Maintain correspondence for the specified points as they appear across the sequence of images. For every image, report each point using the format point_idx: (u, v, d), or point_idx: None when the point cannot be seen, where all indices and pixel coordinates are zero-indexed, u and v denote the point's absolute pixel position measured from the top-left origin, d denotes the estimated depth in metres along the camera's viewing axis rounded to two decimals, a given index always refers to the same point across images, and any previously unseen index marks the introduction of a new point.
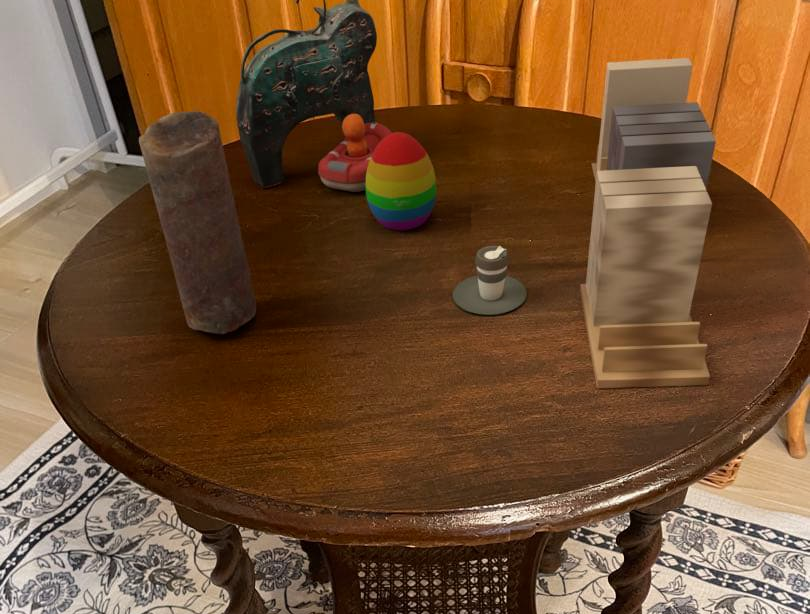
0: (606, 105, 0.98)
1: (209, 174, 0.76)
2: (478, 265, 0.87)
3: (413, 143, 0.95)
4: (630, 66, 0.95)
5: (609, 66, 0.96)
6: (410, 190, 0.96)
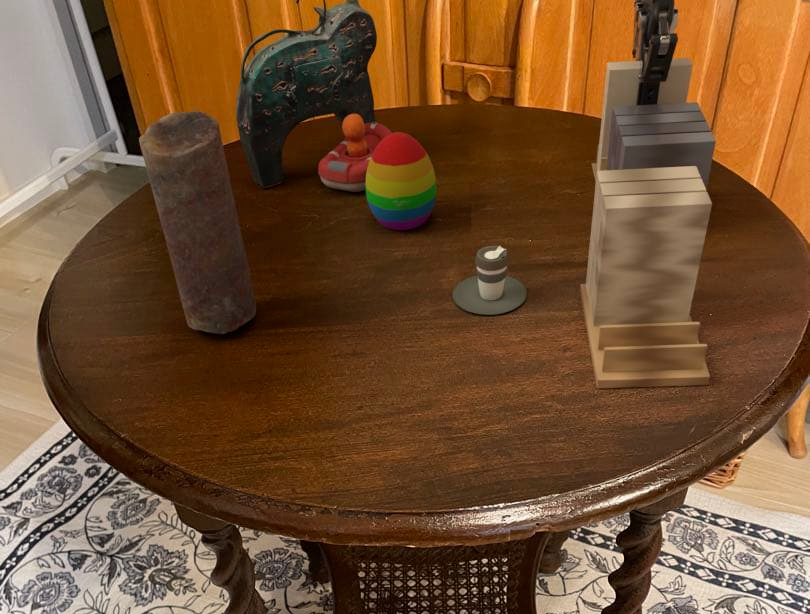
0: (606, 105, 0.98)
1: (209, 174, 0.76)
2: (478, 265, 0.87)
3: (413, 143, 0.95)
4: (630, 66, 0.95)
5: (609, 66, 0.96)
6: (410, 190, 0.96)
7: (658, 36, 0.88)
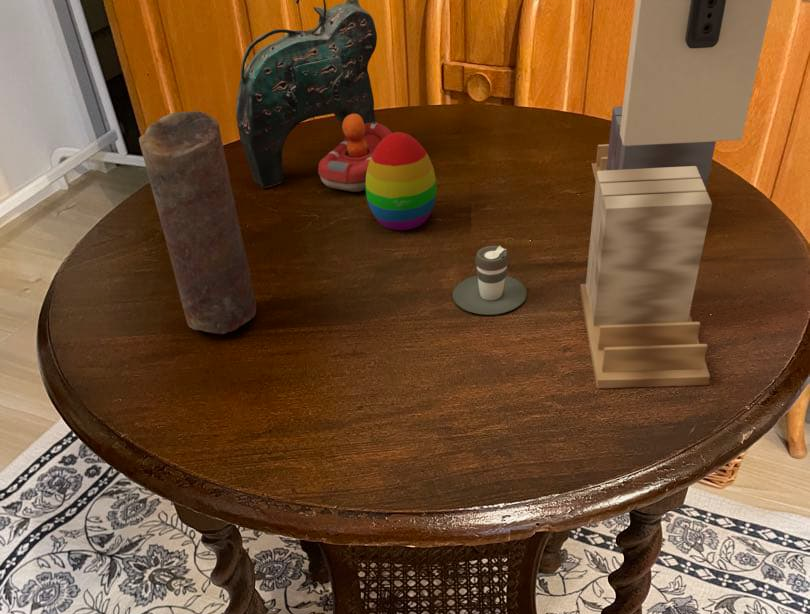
0: (638, 29, 0.61)
1: (209, 174, 0.76)
2: (478, 265, 0.87)
3: (413, 143, 0.95)
4: None
5: None
6: (410, 190, 0.96)
7: None
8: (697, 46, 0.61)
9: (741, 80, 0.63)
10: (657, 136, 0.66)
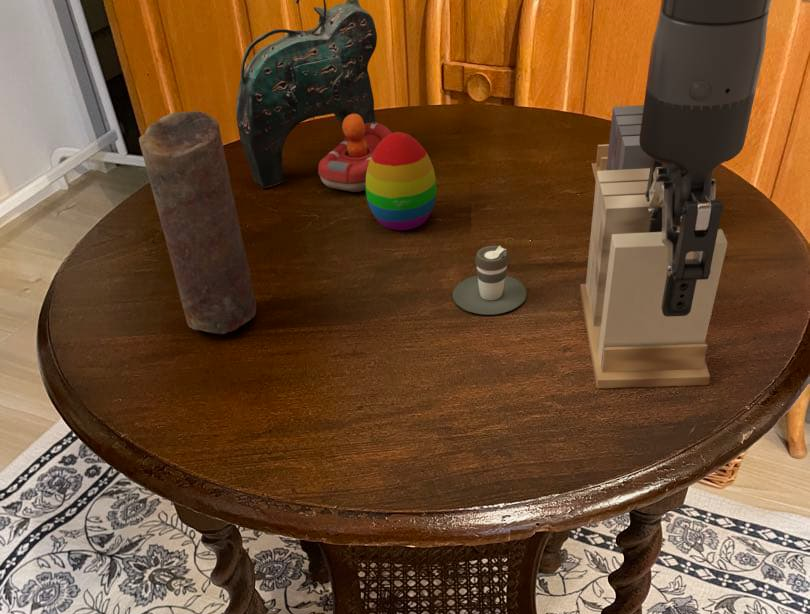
0: (610, 288, 0.73)
1: (209, 174, 0.76)
2: (478, 265, 0.87)
3: (413, 143, 0.95)
4: (643, 242, 0.70)
5: (615, 240, 0.71)
6: (410, 190, 0.96)
7: (694, 202, 0.61)
8: (672, 315, 0.70)
9: (698, 323, 0.75)
10: None
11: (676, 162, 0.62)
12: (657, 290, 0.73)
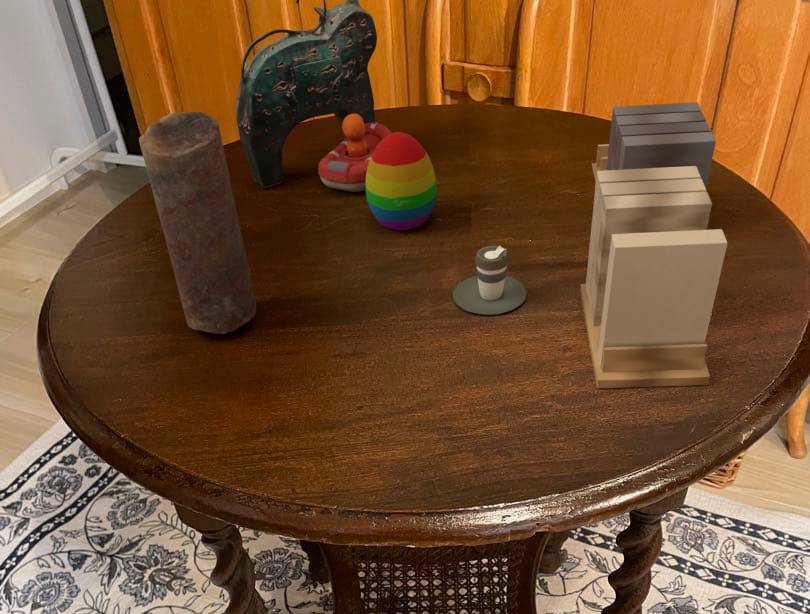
0: (610, 288, 0.73)
1: (209, 174, 0.76)
2: (478, 265, 0.86)
3: (413, 143, 0.95)
4: (643, 242, 0.70)
5: (615, 240, 0.71)
6: (410, 190, 0.96)
7: None
8: None
9: (698, 323, 0.75)
10: None
11: None
12: (657, 290, 0.73)
